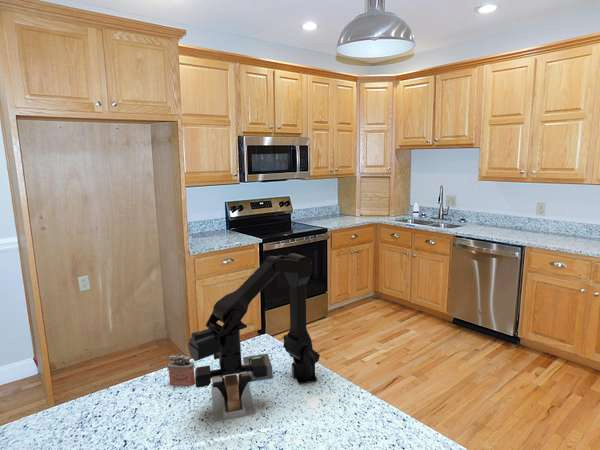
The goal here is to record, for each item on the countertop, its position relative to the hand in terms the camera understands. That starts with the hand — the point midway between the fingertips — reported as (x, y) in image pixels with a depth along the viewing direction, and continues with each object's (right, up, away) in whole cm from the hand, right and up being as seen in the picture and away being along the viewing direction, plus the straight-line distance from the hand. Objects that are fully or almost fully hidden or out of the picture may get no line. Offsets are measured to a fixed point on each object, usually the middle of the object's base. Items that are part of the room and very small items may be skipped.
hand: (233, 400), depth 107 cm
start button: (+5, +2, +18) cm, 18 cm away
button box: (+5, 0, +18) cm, 19 cm away
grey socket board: (-1, -3, +5) cm, 6 cm away
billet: (0, -2, 0) cm, 2 cm away
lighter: (-18, -2, +13) cm, 22 cm away
